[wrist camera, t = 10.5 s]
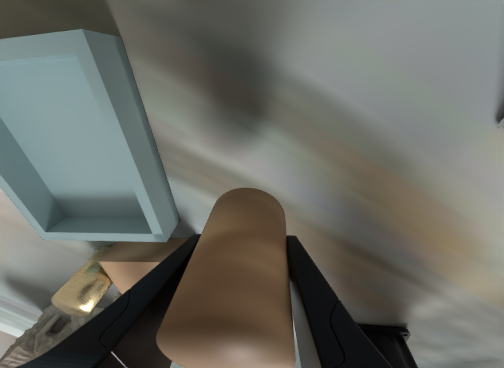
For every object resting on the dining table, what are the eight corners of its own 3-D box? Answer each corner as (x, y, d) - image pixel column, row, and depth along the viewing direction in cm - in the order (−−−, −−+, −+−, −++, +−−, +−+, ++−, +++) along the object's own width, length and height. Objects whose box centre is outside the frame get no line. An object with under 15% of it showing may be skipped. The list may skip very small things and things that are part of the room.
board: (201, 235, 18) (189, 262, 15) (223, 308, 24) (217, 337, 21) (122, 235, 19) (98, 261, 17) (162, 305, 25) (149, 332, 22)
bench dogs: (121, 245, 19) (77, 296, 15) (151, 299, 24) (124, 350, 19) (94, 244, 20) (43, 294, 15) (128, 298, 24) (96, 348, 20)
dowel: (285, 187, 10) (298, 322, 4) (284, 245, 12) (293, 387, 6) (206, 188, 10) (134, 311, 5) (218, 244, 12) (176, 375, 7)
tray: (121, 37, 11) (82, 28, 8) (180, 220, 17) (166, 242, 15) (-40, 56, 12) (-109, 52, 10) (70, 219, 18) (42, 239, 16)
